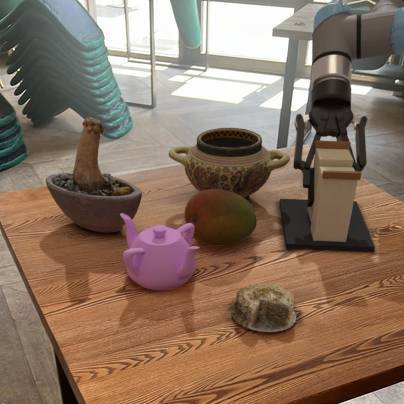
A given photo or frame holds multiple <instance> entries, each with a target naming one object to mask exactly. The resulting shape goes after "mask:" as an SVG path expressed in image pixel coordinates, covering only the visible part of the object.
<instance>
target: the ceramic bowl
mask: <svg viewBox="0 0 404 404" xmlns="http://www.w3.org/2000/svg"><path fill="white" fill-rule="evenodd" d="M167 154H168V157H169V158H170V159H171V160H173V161H175V162H177V163H179V164H181V165H182V166H183V168H184V171H185V175H186V177H187V179H188V181H189V183H190V184H191V185H192V186H193V188H195V189H196V190H197V191H198V192H201V191H204V190H208V189H220V190H226V191H230V192H233V193H236V194H238V195H240V196H242V197H243V198H245V199H246V200H247V201H248V202H249V201H250V199H251V195H253V194H255V193H256V192H258V191H259V190H260V189H262V187H263V186H265V184H266V183H267V182H268V180H269V179H270V176H271V175H272V171H275V170H278V169H281V168H284V167H285V166H286V165H288V164H289V163H290V161H291V158H290V155H289V154H287V153H285V152H283V151H279V150H275V149H273V150H270V149H267V148H266V147H265V146H263V138H262V136H261V135H260V134H259V133H257V132H255V131H253V130H250V129H246V128H240V127H219V128H213V129H207V130H206V131H203V132H201V133H200V134H199V135H198V136H197V137H196V144H195V145H193V146H175V147H172V148H170V149H169V151H168V153H167ZM182 154H184V155H182Z"/></svg>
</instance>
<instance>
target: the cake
mask: <svg viewBox="0 0 404 404" xmlns="http://www.w3.org/2000/svg"><path fill="white" fill-rule="evenodd" d="M235 298H236V299H235V301H234V305H233V307H232V309H231V316H232V319H233V320H234V321H235V322H236V323H237V324H238V325H239V326H242V327H244V328H245V329H249V330H252V331H255V332H261V333H276V332H282V331H286V330H287V329H290V328H292V326H294V324H295V323H296V321H297V313H296V312H295V309H294V307H295V303H296V301H295V296H294V294H292V292H291V291H289V290H287V289H285V288H283V287H282V286H277V285H276V284H274V285H273V284H270V283H269V284H268V283H267V284H264V283H254V284H250V285H248V286H246V287H241V288H239V289H238V291H237V292H236V296H235Z"/></svg>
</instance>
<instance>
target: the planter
mask: <svg viewBox="0 0 404 404" xmlns="http://www.w3.org/2000/svg"><path fill="white" fill-rule="evenodd" d="M81 125H82V126H83V127H82V131H81V135H80V137H79V141H78V145H77V148H76V154H75V161H74V166H73V170H72V172H61V173H53V174H50V175H48V176H47V177H46V178H45V184H46V188H47V189H48V191H49V194H50V195H51V197H52V199H53V201H54V202H55V204H56V205H57V206H58V208H59V209H60V210H61V211H62V213H63V214H64V215H65V216H66V217H67V218H68V219H69V220H71V221H73V222H74V223H75V224H76V226H79V227H80V228H83V229H85V230H89V231H92V232H97V233H105V234H106V233H108V234H111V233H117V232H120V231H121V230H123V228H124V226H126V224H125V222H124V220H123V218H122V217H121V216H120V213H124V214H126V215H128V216H129V217H130V218H131V220H132V221H133V220H134V218H135V217H136V215H137V213H138V210H139V208H140V205H141V202H142V197H143V191H142V189H140V188H139V187H138V186H137V185H135V184H134V183H132V182H130V181H127V180H125V179H122V178H119V177H116V176H113V175H111V173H109V172H104V173H102V171H101V169H100V166H99V149H100V140H101V134H102V133H104V126H103V124H102V121H101V120H100V119H98V118H95V117H92V116H88V117H85V119H84V120H83V121H82V123H81Z"/></svg>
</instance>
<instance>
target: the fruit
mask: <svg viewBox="0 0 404 404" xmlns="http://www.w3.org/2000/svg"><path fill="white" fill-rule="evenodd" d="M184 221H185V224H187V223H192V224H193V225H194V235H193V238H195V239H197V240H198V241H200V242H201V243H204V244H206V245H210V246H215V247H225V246H232V245H236V244H237V243H240V242H242V241H244V240H245V239H247V238H248V237H249V236H250V235H252V233H253V232H254V230H256V227H257V223H258V219H257V213H256V211H255V209H254V207H253V205H252V204H251V203H250V202H249V201H247V200H246V199H245V198H243V197H242V196H240V195H238V194H236V193H233V192H230V191H226V190H220V189H208V190H204V191H201V192H200V191H198V192H197V193H195V194H193V196H192V197H191V198H190V199H189V200H188V201H187V203H186V205H185V209H184Z"/></svg>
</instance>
